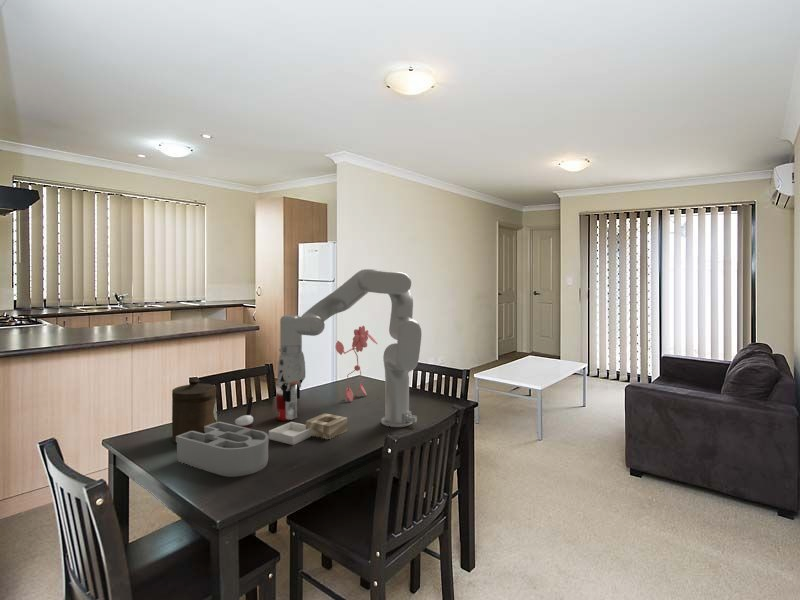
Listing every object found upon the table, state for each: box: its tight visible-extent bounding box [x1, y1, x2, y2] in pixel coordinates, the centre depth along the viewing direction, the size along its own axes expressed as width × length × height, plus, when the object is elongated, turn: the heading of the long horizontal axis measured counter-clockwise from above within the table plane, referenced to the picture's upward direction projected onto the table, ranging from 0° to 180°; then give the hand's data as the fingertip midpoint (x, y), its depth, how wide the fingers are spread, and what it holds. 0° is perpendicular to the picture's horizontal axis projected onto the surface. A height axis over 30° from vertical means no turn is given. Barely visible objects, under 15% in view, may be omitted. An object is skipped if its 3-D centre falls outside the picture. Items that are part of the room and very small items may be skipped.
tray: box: [268, 421, 314, 446], centre depth 167 cm, size 12×12×3 cm
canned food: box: [276, 390, 294, 422], centre depth 188 cm, size 8×8×11 cm
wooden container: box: [171, 377, 218, 444], centre depth 166 cm, size 15×15×22 cm
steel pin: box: [285, 381, 299, 420], centre depth 166 cm, size 5×5×14 cm
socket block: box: [305, 412, 349, 440], centre depth 172 cm, size 11×11×5 cm
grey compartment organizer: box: [176, 421, 270, 477], centre depth 145 cm, size 17×28×9 cm, turn 61°
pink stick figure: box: [334, 325, 378, 403], centre depth 215 cm, size 15×26×35 cm, turn 146°
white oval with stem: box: [234, 396, 254, 429], centre depth 172 cm, size 10×6×12 cm, turn 141°
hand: (291, 399), depth 166 cm, fingers closed on steel pin, 4 cm apart
